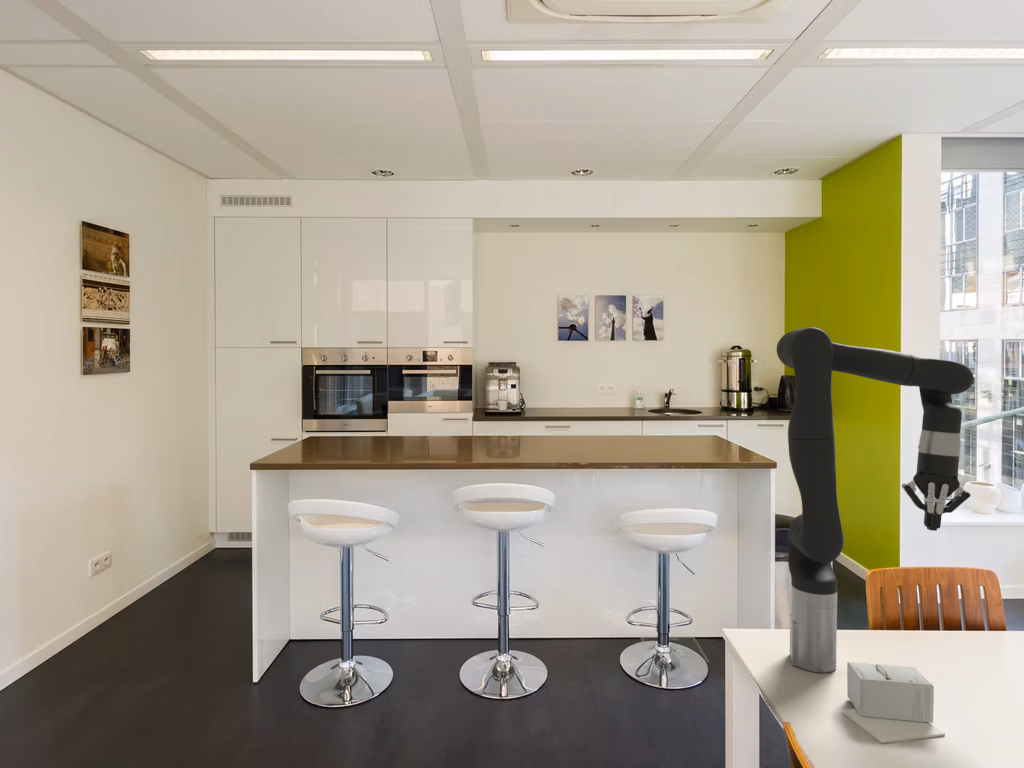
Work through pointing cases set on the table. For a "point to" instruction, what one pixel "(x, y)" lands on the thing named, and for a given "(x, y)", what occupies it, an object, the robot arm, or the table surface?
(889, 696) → the supplement box
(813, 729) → the table surface
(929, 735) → the mat
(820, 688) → the table surface
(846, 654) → the table surface
